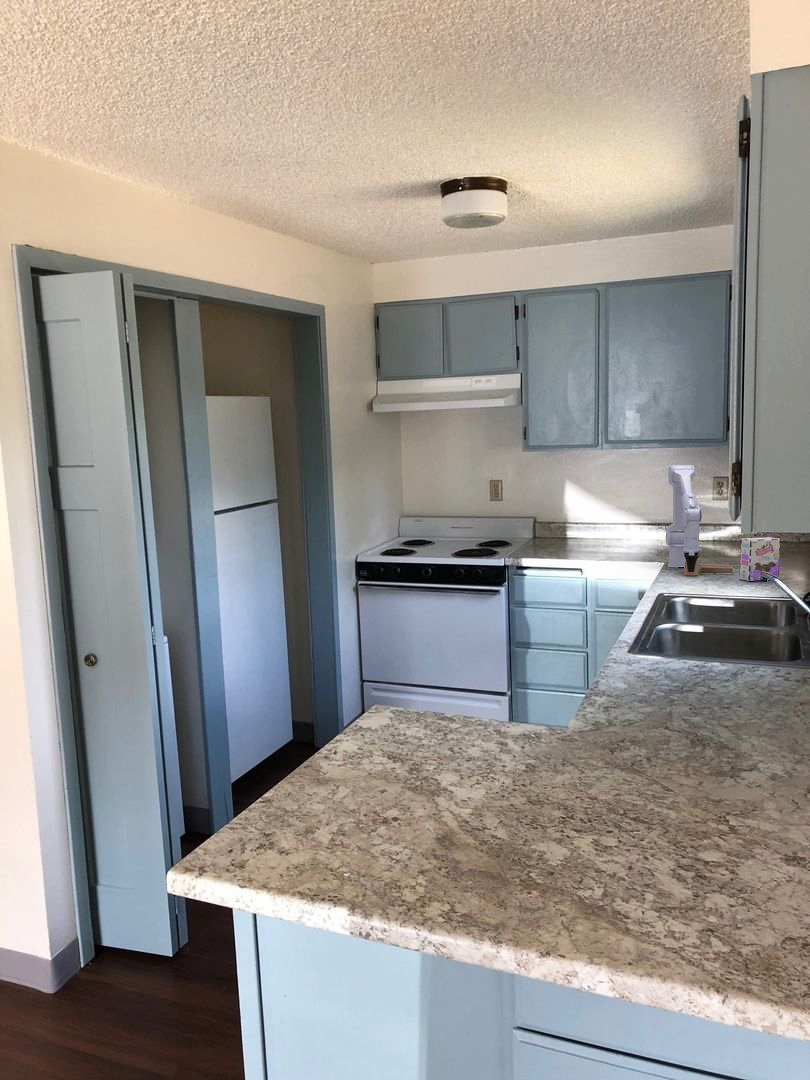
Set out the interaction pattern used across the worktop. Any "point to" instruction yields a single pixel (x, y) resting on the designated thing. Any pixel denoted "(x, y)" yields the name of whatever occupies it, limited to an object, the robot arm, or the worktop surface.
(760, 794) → the worktop surface
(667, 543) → the robot arm
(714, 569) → the walnut block
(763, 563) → the candy box
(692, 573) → the terracotta cube
